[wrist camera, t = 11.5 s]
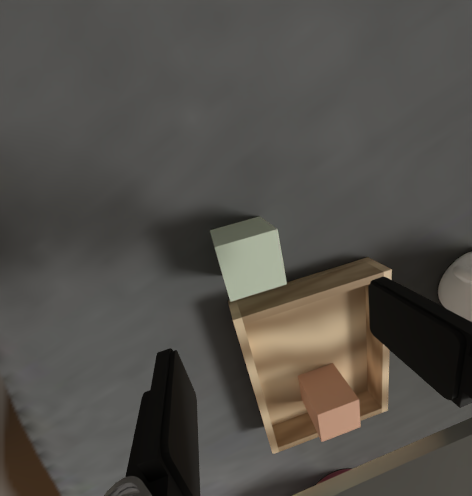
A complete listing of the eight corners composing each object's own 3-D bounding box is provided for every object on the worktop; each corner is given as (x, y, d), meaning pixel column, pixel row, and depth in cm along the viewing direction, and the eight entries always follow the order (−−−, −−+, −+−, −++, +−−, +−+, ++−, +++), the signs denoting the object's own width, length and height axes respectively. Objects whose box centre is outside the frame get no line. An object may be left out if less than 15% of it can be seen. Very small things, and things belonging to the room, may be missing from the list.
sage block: (209, 230, 19) (214, 247, 15) (259, 216, 20) (277, 229, 16) (222, 275, 21) (230, 301, 17) (268, 261, 21) (287, 284, 17)
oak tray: (227, 300, 22) (232, 320, 19) (367, 257, 23) (391, 269, 20) (265, 426, 29) (272, 454, 26) (369, 388, 31) (387, 410, 28)
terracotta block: (297, 375, 26) (317, 415, 22) (332, 363, 27) (359, 399, 22) (302, 400, 28) (321, 442, 24) (335, 388, 28) (360, 426, 24)
